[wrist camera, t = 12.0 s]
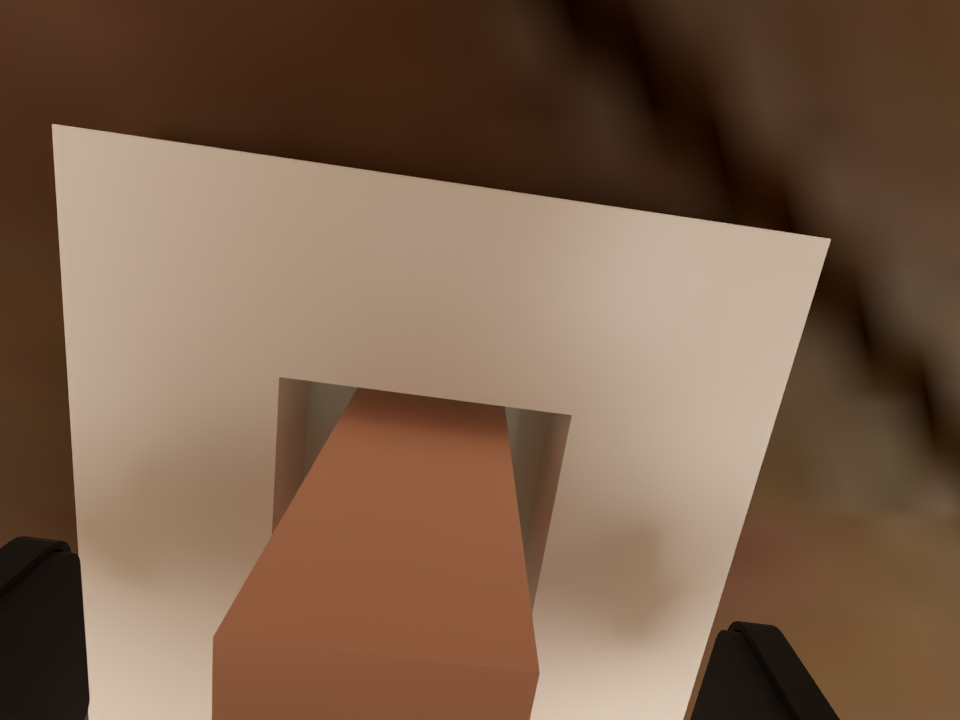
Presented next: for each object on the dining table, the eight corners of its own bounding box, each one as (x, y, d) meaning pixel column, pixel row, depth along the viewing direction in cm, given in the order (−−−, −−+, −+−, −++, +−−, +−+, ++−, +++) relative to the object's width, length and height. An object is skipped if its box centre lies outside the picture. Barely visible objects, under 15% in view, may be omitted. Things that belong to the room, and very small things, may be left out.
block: (359, 384, 12) (212, 637, 5) (504, 402, 12) (539, 673, 5) (341, 589, 13) (207, 992, 7) (471, 604, 14) (467, 1014, 7)
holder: (156, 138, 12) (51, 123, 9) (746, 225, 12) (830, 238, 9) (165, 697, 16) (94, 813, 13) (609, 743, 16) (638, 864, 13)
